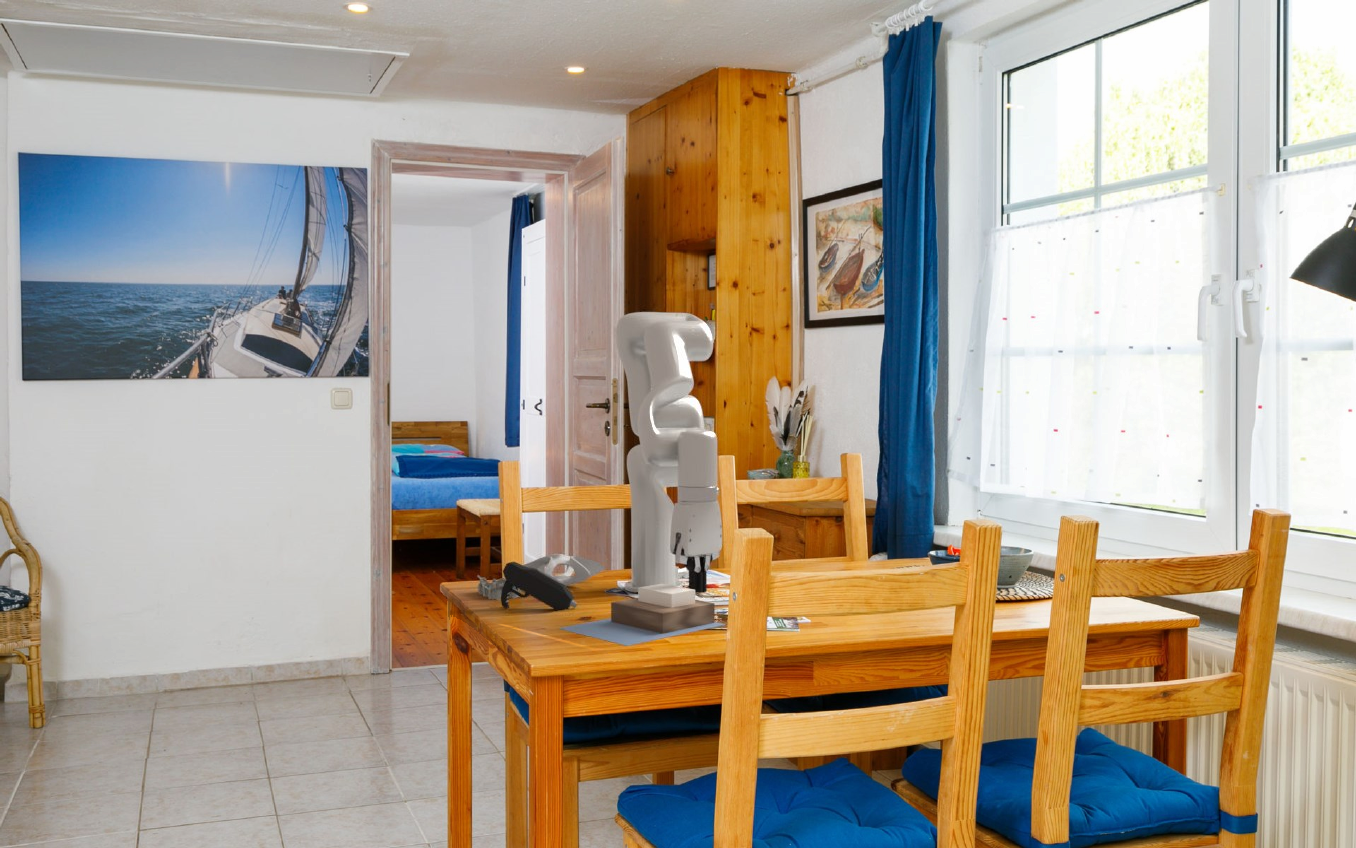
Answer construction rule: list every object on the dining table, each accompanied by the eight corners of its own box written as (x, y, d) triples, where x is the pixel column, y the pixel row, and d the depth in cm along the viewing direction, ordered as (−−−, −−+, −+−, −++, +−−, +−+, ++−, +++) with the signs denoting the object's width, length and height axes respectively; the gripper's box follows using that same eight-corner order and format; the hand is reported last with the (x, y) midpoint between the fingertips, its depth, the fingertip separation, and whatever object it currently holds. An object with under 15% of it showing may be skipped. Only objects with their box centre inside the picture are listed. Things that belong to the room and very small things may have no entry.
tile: (661, 596, 212) (661, 583, 212) (695, 603, 205) (695, 589, 205) (638, 601, 208) (638, 587, 207) (671, 607, 201) (671, 594, 201)
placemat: (655, 611, 217) (655, 609, 217) (726, 626, 204) (726, 624, 204) (557, 630, 201) (557, 628, 201) (627, 648, 187) (627, 645, 187)
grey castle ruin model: (475, 593, 239) (475, 574, 238) (509, 590, 242) (509, 572, 242) (488, 602, 229) (488, 582, 229) (524, 599, 232) (523, 579, 232)
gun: (557, 640, 218) (579, 595, 217) (487, 599, 221) (509, 555, 220) (561, 636, 221) (583, 593, 220) (492, 596, 224) (514, 553, 222)
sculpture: (558, 595, 236) (558, 565, 236) (500, 583, 250) (500, 555, 249) (619, 584, 248) (619, 556, 248) (561, 574, 262) (561, 547, 262)
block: (662, 611, 215) (662, 593, 215) (714, 622, 205) (714, 603, 205) (611, 621, 206) (611, 602, 206) (662, 633, 196) (662, 613, 196)
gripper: (710, 491, 219) (710, 584, 220) (655, 496, 209) (655, 594, 209) (738, 494, 214) (738, 589, 214) (683, 499, 203) (683, 599, 204)
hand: (697, 591), depth 212 cm, fingers closed
